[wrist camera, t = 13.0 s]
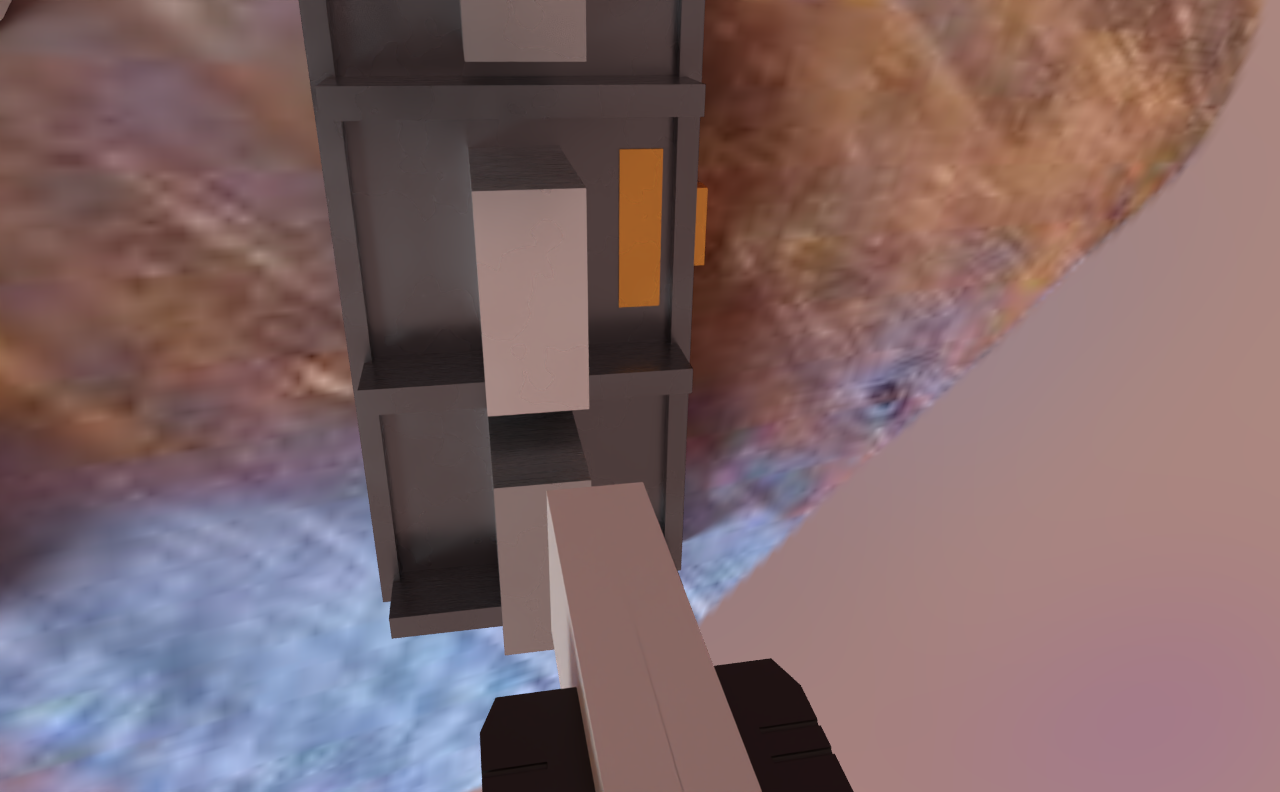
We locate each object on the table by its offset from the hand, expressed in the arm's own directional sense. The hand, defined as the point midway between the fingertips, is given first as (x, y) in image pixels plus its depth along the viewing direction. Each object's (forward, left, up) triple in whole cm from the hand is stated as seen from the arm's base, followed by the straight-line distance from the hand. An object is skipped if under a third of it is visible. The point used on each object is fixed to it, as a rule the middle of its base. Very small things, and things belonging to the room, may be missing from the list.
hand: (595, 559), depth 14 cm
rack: (0, 0, -22) cm, 22 cm away
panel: (+1, 0, -20) cm, 20 cm away
